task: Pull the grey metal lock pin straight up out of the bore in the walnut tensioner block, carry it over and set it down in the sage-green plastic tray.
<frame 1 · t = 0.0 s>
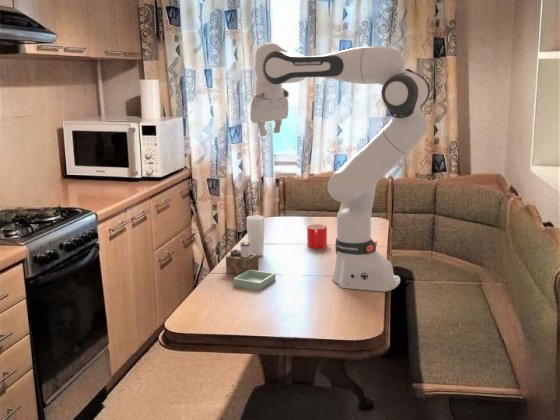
hand: (270, 134, 199), 48 cm above the table, fingers open, 8 cm apart
tensioner block: (242, 271, 206), on the table
lock pin: (246, 272, 205), resting in tensioner block
tray: (254, 283, 194), on the table
mug: (317, 247, 233), on the table
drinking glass: (256, 255, 224), on the table
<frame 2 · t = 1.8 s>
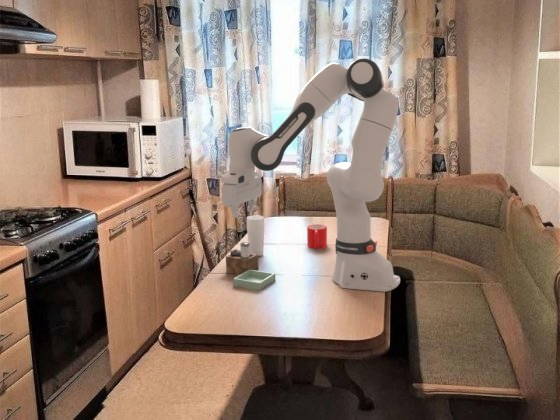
hand: (243, 214, 200), 21 cm above the table, fingers open, 8 cm apart
nothing on the table moved.
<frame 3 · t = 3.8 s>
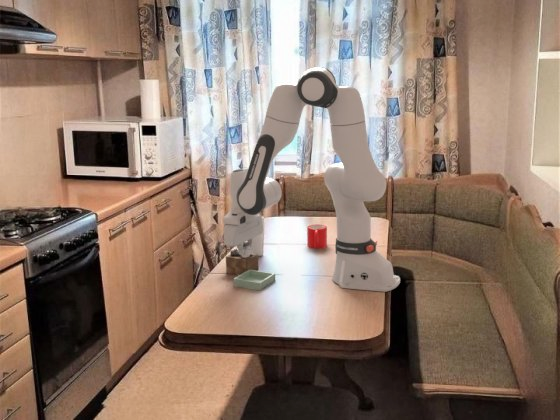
hand: (245, 252, 203), 7 cm above the table, fingers closed on lock pin, 3 cm apart
lock pin: (246, 272, 205), resting in tensioner block, touching gripper
everything else where it was.
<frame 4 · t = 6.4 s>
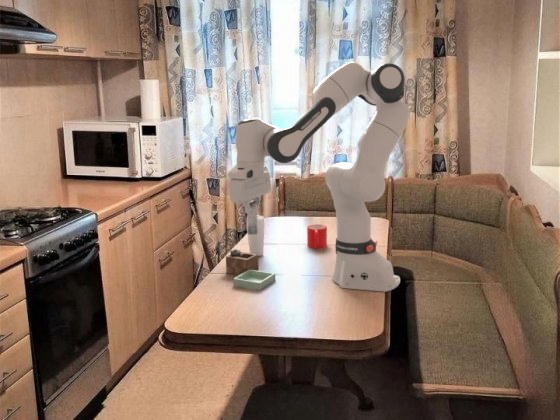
hand: (252, 211, 188), 25 cm above the table, fingers closed on lock pin, 3 cm apart
lock pin: (252, 233, 190), point 17 cm above the table, touching gripper
everything else where it was.
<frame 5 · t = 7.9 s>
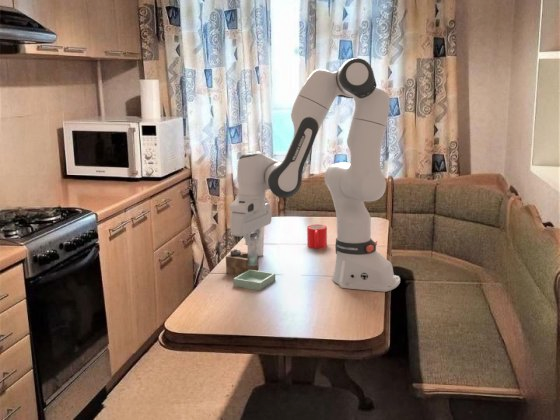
hand: (252, 243, 191), 14 cm above the table, fingers closed on lock pin, 3 cm apart
lock pin: (252, 264, 192), point 7 cm above the table, touching gripper
everything else where it was.
when the fingers open (9 cm above the table, at t = 9.1 s): lock pin stays where it is, resting on tray.
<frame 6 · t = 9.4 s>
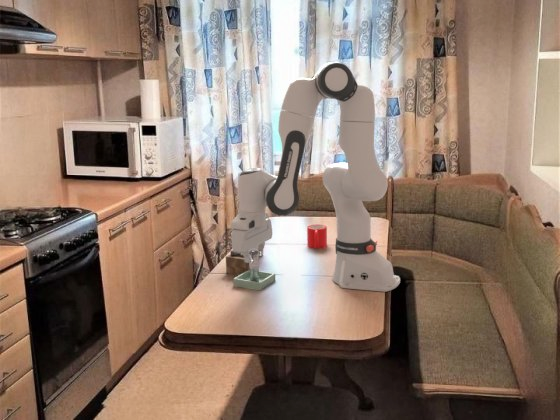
hand: (253, 258, 192), 9 cm above the table, fingers open, 6 cm apart
lock pin: (254, 281, 194), point 1 cm above the table, touching tray
everything else where it was.
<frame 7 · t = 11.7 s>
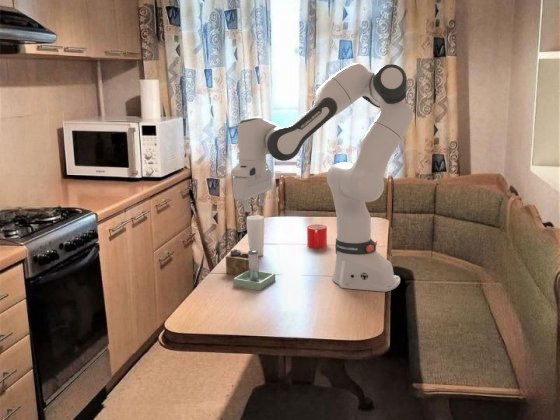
hand: (254, 208, 192), 25 cm above the table, fingers open, 8 cm apart
nothing on the table moved.
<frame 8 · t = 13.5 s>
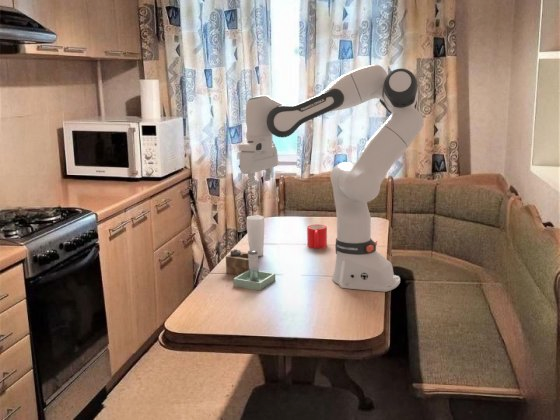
hand: (260, 182, 202), 31 cm above the table, fingers open, 8 cm apart
nothing on the table moved.
at the end: lock pin inside the target area on the tray (0.1 cm from its centre), point 0.5 cm above the tray's base; the gripper is holding nothing; lock pin touching tray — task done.
